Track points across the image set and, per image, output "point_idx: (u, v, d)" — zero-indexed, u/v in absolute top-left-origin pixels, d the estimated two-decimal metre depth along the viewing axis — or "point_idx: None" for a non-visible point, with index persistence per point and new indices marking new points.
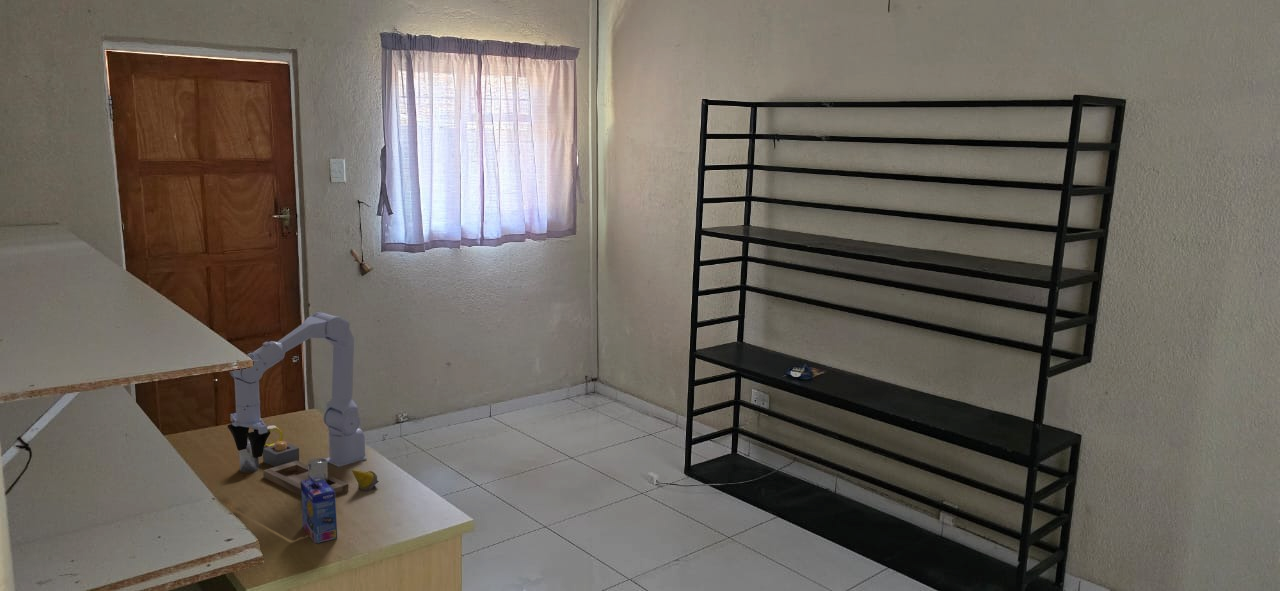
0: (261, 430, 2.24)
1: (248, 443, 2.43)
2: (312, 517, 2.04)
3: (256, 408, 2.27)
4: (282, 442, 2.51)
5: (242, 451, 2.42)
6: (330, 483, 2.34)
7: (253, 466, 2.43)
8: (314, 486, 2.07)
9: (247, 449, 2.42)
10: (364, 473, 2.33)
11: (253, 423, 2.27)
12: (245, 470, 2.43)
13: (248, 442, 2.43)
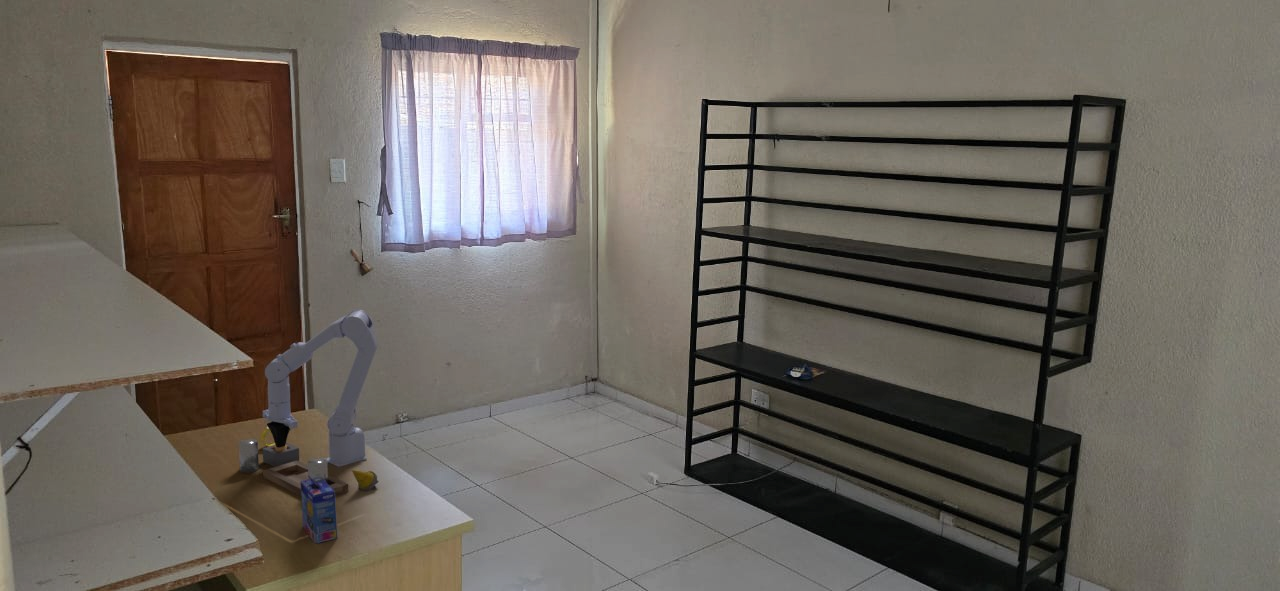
0: (292, 425, 2.44)
1: (248, 443, 2.43)
2: (312, 517, 2.04)
3: (287, 405, 2.48)
4: None
5: (242, 451, 2.42)
6: (330, 483, 2.34)
7: (253, 466, 2.43)
8: (314, 486, 2.07)
9: (247, 449, 2.42)
10: (364, 473, 2.33)
11: (284, 419, 2.47)
12: (245, 470, 2.43)
13: (248, 442, 2.43)
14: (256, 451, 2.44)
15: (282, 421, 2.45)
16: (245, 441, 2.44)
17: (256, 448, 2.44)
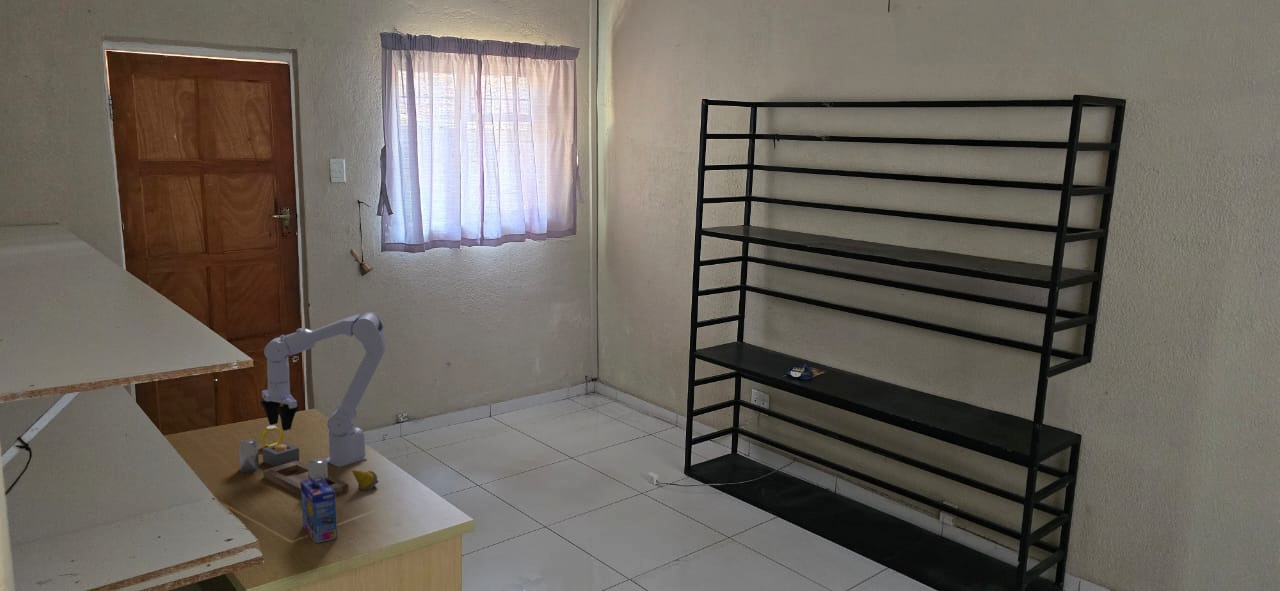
0: (291, 405, 2.43)
1: (248, 443, 2.43)
2: (312, 517, 2.04)
3: (287, 385, 2.47)
4: (282, 445, 2.51)
5: (242, 451, 2.42)
6: (330, 483, 2.34)
7: (253, 466, 2.43)
8: (314, 486, 2.07)
9: (247, 449, 2.42)
10: (364, 473, 2.33)
11: (283, 399, 2.46)
12: (245, 470, 2.43)
13: (248, 442, 2.43)
14: (256, 451, 2.44)
15: (281, 401, 2.44)
16: (245, 441, 2.44)
17: (256, 448, 2.44)
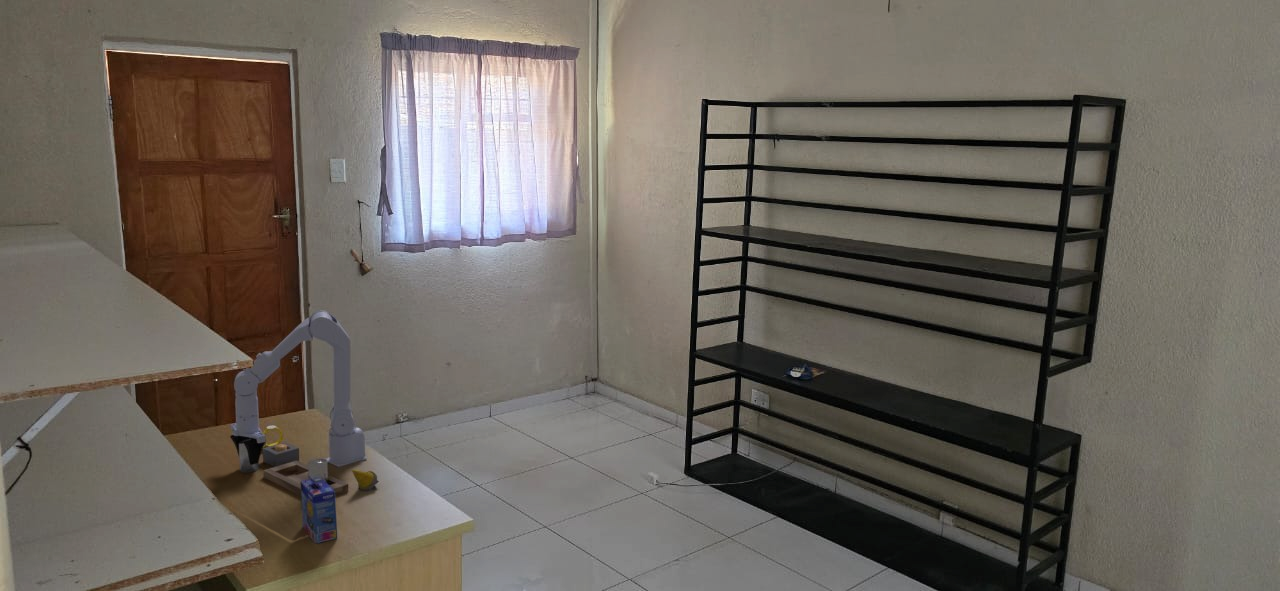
0: (260, 439, 2.38)
1: None
2: (312, 517, 2.04)
3: (255, 419, 2.42)
4: (282, 445, 2.51)
5: (242, 451, 2.42)
6: (330, 483, 2.34)
7: (253, 466, 2.43)
8: (314, 486, 2.07)
9: None
10: (364, 473, 2.33)
11: (252, 433, 2.41)
12: (245, 470, 2.43)
13: None
14: None
15: (250, 435, 2.39)
16: None
17: None
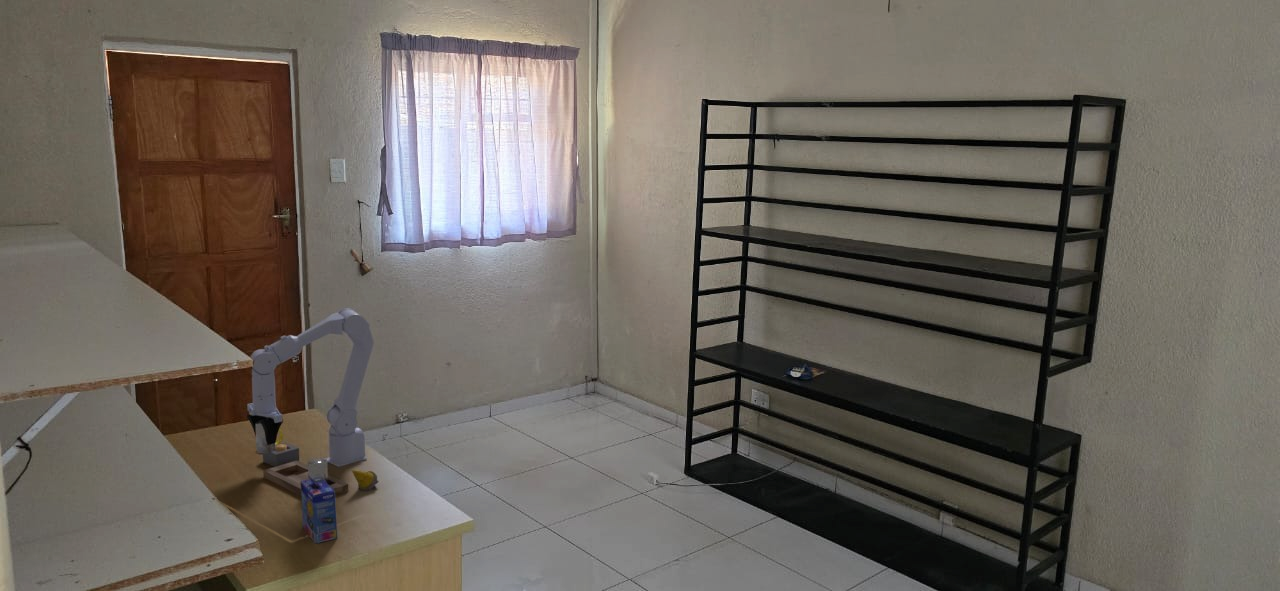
0: (277, 419, 2.35)
1: None
2: (312, 517, 2.04)
3: (272, 398, 2.38)
4: (282, 445, 2.51)
5: (259, 431, 2.38)
6: (330, 483, 2.34)
7: (270, 447, 2.40)
8: (314, 486, 2.07)
9: None
10: (364, 473, 2.33)
11: (269, 412, 2.37)
12: (262, 450, 2.39)
13: None
14: None
15: (267, 415, 2.36)
16: None
17: None
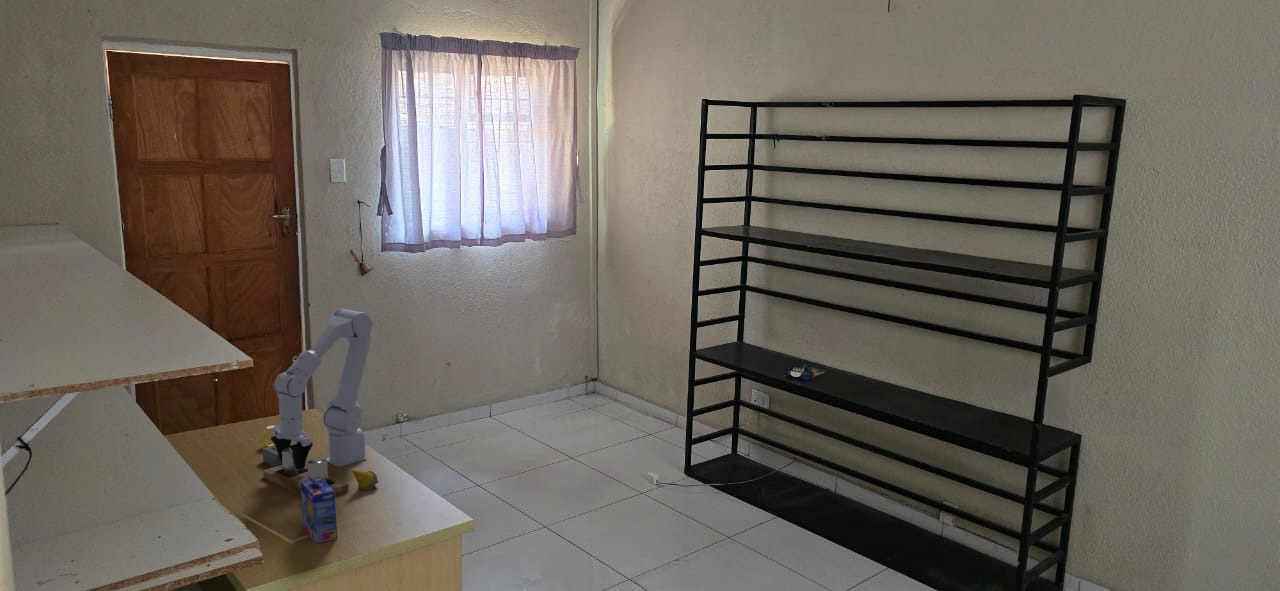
0: (304, 442, 2.32)
1: None
2: (312, 517, 2.04)
3: (299, 421, 2.35)
4: None
5: (286, 459, 2.36)
6: (330, 483, 2.34)
7: None
8: (314, 486, 2.07)
9: (291, 457, 2.36)
10: (364, 473, 2.33)
11: (296, 436, 2.35)
12: None
13: (291, 450, 2.37)
14: None
15: (294, 438, 2.33)
16: (288, 449, 2.38)
17: None
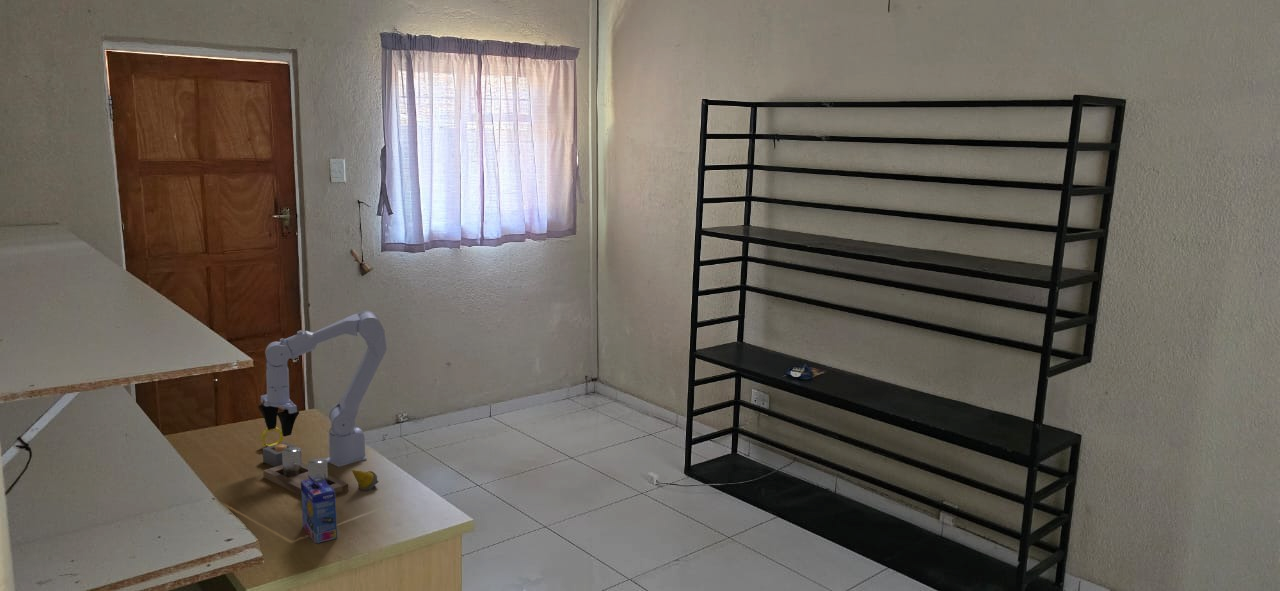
0: (291, 410, 2.39)
1: (292, 451, 2.37)
2: (312, 517, 2.04)
3: (286, 390, 2.42)
4: (282, 445, 2.51)
5: (286, 459, 2.36)
6: (330, 483, 2.34)
7: None
8: (314, 486, 2.07)
9: (291, 457, 2.36)
10: (364, 473, 2.33)
11: (283, 403, 2.42)
12: None
13: (291, 450, 2.37)
14: (300, 459, 2.38)
15: (281, 406, 2.40)
16: (288, 449, 2.38)
17: (300, 456, 2.38)
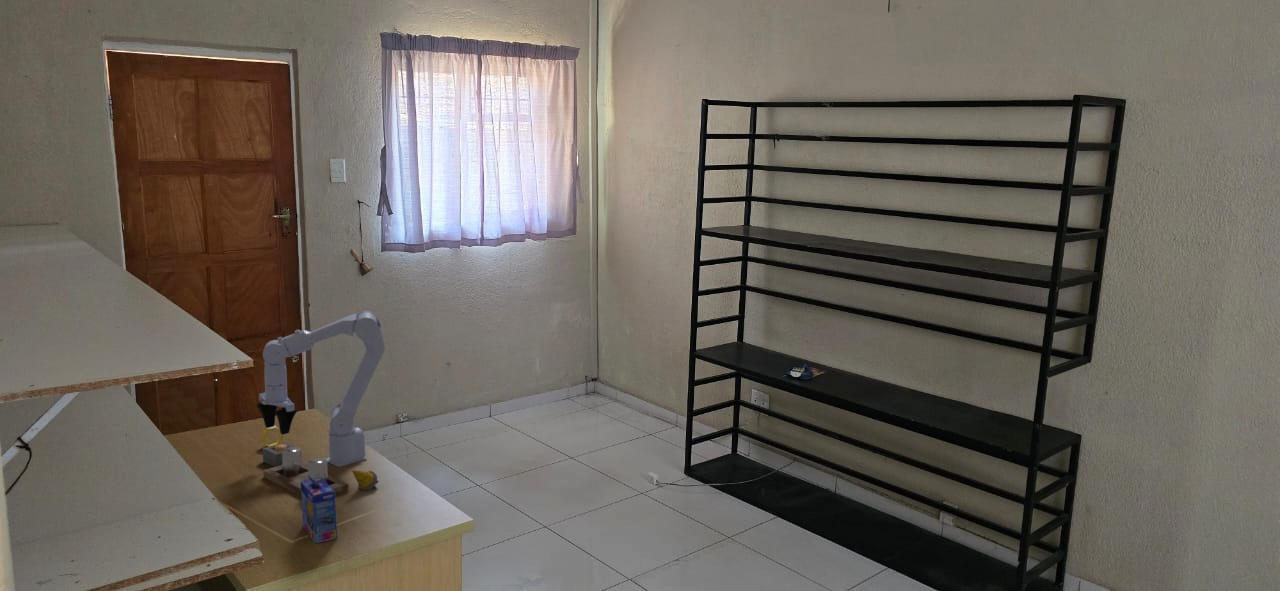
0: (289, 408, 2.41)
1: (292, 451, 2.37)
2: (312, 517, 2.04)
3: (284, 388, 2.44)
4: (282, 445, 2.51)
5: (286, 459, 2.36)
6: (330, 483, 2.34)
7: None
8: (314, 486, 2.07)
9: (291, 457, 2.36)
10: (364, 473, 2.33)
11: (281, 402, 2.43)
12: None
13: (291, 450, 2.37)
14: (300, 459, 2.38)
15: (279, 404, 2.41)
16: (288, 449, 2.38)
17: (300, 456, 2.38)
